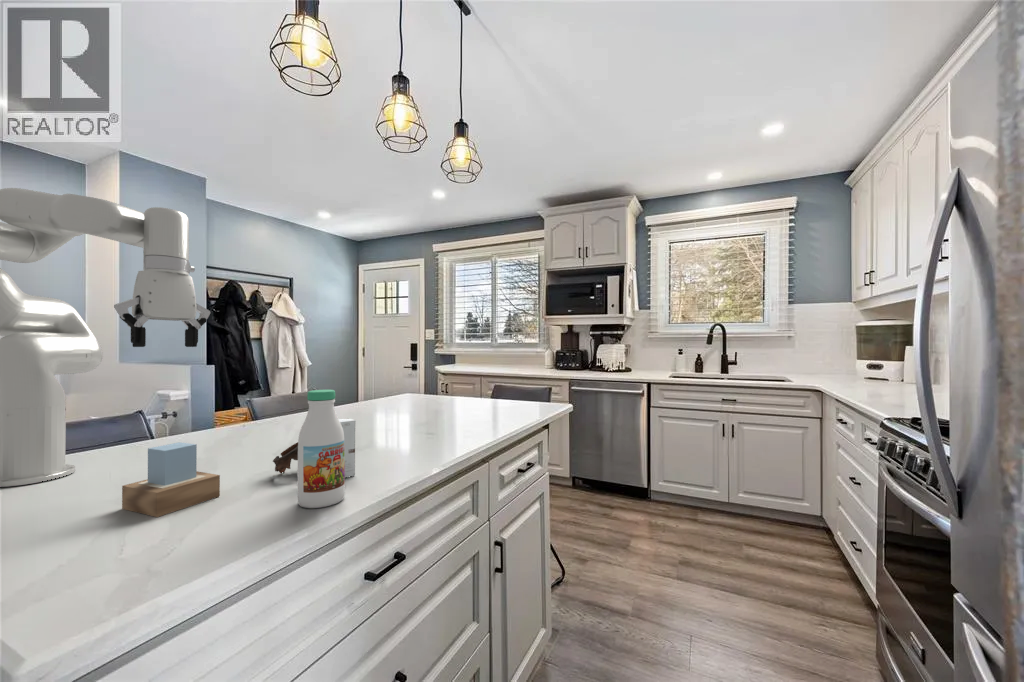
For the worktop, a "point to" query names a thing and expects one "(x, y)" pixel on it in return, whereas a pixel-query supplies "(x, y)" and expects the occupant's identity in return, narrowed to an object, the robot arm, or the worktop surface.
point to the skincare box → (349, 445)
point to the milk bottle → (321, 453)
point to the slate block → (172, 463)
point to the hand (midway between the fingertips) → (166, 346)
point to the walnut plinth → (169, 494)
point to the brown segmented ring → (286, 458)
